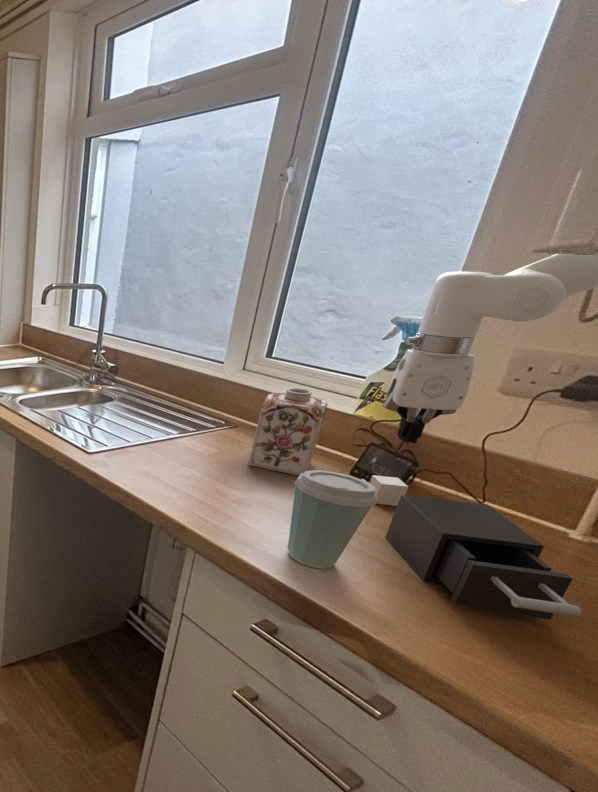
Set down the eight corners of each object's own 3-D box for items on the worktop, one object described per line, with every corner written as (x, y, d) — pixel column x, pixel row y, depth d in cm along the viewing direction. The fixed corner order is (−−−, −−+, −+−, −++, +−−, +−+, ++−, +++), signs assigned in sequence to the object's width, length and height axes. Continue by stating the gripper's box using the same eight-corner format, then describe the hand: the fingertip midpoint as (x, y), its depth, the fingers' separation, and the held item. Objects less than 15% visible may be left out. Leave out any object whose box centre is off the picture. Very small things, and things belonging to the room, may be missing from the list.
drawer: (585, 650, 67) (611, 607, 64) (480, 632, 70) (501, 590, 67) (494, 569, 83) (512, 532, 80) (413, 558, 86) (427, 522, 83)
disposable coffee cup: (272, 536, 95) (294, 460, 89) (346, 551, 90) (373, 471, 84) (277, 567, 86) (302, 484, 80) (359, 584, 81) (391, 498, 75)
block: (391, 497, 108) (398, 477, 106) (401, 506, 104) (408, 486, 103) (365, 494, 109) (372, 474, 108) (374, 503, 106) (381, 483, 104)
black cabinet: (519, 595, 78) (544, 546, 75) (423, 580, 82) (443, 533, 79) (467, 548, 90) (487, 504, 87) (385, 537, 94) (401, 494, 90)
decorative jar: (311, 462, 125) (333, 388, 118) (306, 478, 117) (329, 400, 110) (254, 451, 132) (271, 381, 125) (245, 465, 124) (263, 391, 117)
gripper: (401, 346, 93) (368, 443, 100) (509, 351, 88) (466, 451, 95) (382, 339, 99) (352, 430, 106) (481, 343, 95) (444, 438, 102)
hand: (406, 440), depth 101 cm, fingers closed
